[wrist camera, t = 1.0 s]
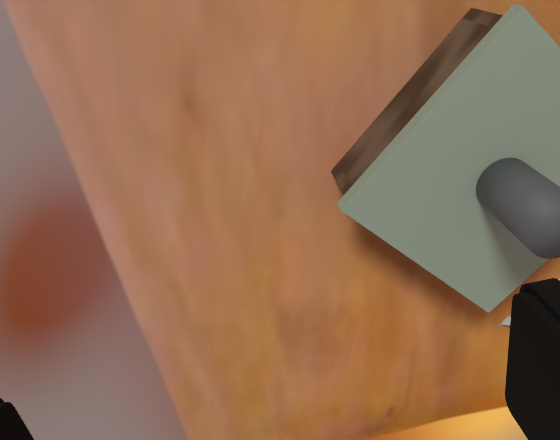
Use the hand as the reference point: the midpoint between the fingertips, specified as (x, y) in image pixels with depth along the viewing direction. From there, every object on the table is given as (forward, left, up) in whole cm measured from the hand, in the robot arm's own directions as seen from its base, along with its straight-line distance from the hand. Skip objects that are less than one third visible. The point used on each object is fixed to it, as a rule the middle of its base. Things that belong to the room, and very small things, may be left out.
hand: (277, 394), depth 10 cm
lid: (-6, +17, -22) cm, 28 cm away
